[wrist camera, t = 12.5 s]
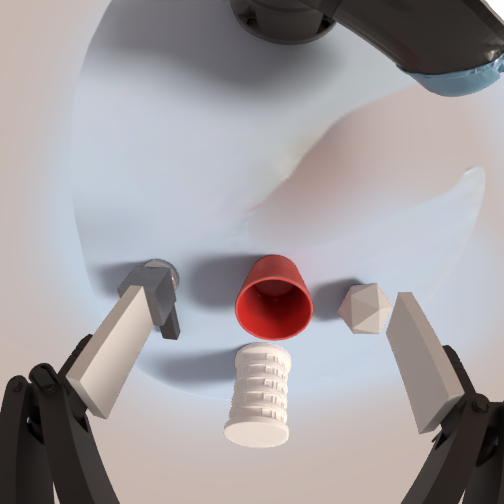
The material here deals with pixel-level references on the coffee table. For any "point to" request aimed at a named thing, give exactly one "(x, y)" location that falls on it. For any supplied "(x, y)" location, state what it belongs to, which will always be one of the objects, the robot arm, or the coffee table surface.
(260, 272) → the flower pot
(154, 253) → the coffee table surface
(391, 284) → the coffee table surface
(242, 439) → the decorative container
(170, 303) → the grey wood-grain cube
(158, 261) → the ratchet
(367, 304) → the die
